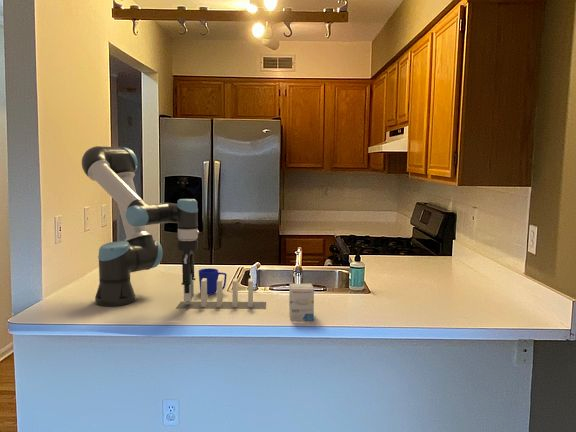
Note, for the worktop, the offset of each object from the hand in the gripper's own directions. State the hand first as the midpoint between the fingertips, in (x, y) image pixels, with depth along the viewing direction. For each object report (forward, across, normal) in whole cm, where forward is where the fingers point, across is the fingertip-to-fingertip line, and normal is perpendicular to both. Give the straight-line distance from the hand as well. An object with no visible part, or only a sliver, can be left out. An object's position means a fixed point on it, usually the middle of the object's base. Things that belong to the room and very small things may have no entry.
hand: (188, 299), depth 200 cm
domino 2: (+2, 0, -12) cm, 12 cm away
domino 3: (+3, 0, -18) cm, 18 cm away
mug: (+3, +19, -7) cm, 20 cm away
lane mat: (+3, 0, -13) cm, 13 cm away
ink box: (+3, -14, -43) cm, 45 cm away
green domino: (+1, 0, 0) cm, 1 cm away
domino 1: (+2, 0, -6) cm, 6 cm away
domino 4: (+3, 0, -24) cm, 24 cm away
